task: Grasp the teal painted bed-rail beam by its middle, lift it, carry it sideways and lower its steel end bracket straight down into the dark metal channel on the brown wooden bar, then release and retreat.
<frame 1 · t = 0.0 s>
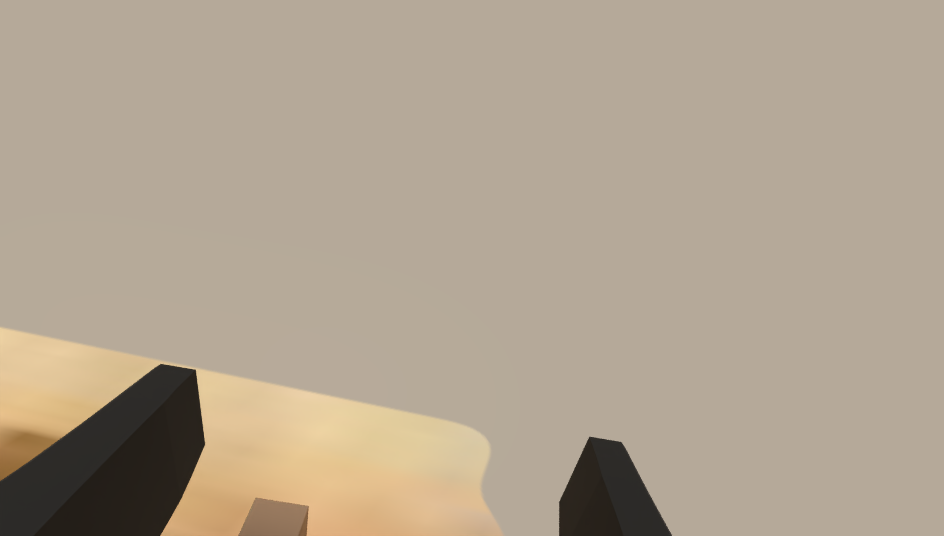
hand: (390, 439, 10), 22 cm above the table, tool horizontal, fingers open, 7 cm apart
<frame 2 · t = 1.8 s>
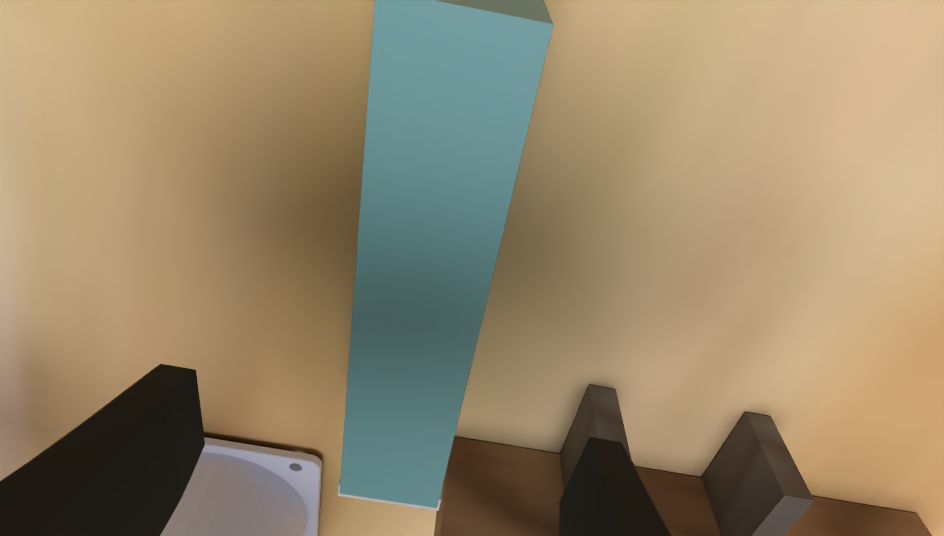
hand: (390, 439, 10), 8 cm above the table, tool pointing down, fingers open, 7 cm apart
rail: (437, 223, 17), on the table
brown wooden bar: (678, 493, 24), on the table
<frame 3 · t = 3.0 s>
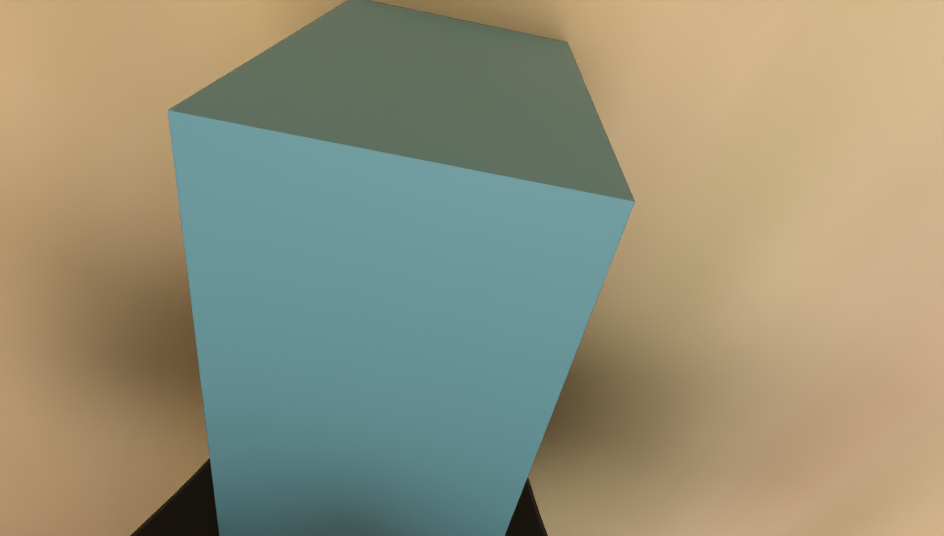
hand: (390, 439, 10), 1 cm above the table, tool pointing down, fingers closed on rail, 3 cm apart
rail: (403, 376, 12), on the table, touching gripper
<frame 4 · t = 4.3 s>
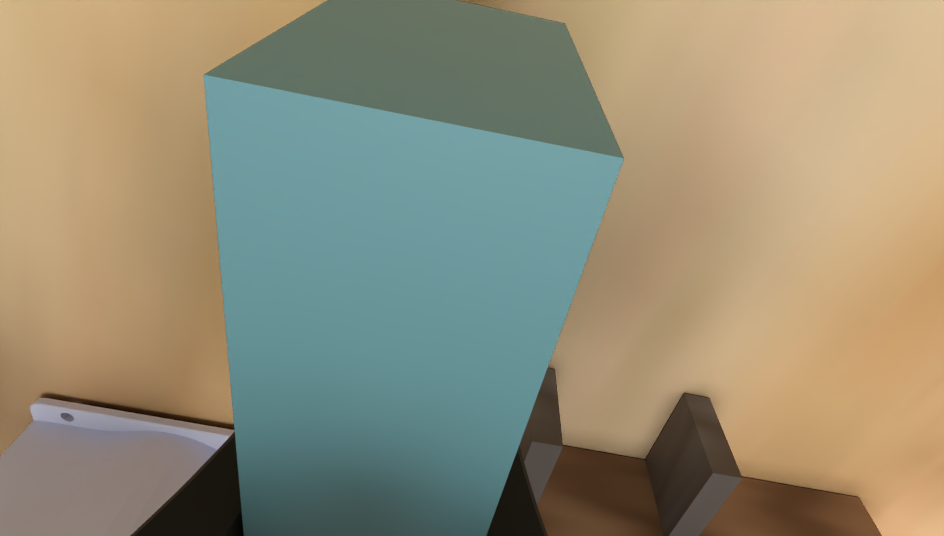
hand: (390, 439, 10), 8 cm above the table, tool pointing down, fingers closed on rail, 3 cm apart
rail: (407, 351, 12), point 6 cm above the table, touching gripper
brown wooden bar: (623, 476, 24), on the table
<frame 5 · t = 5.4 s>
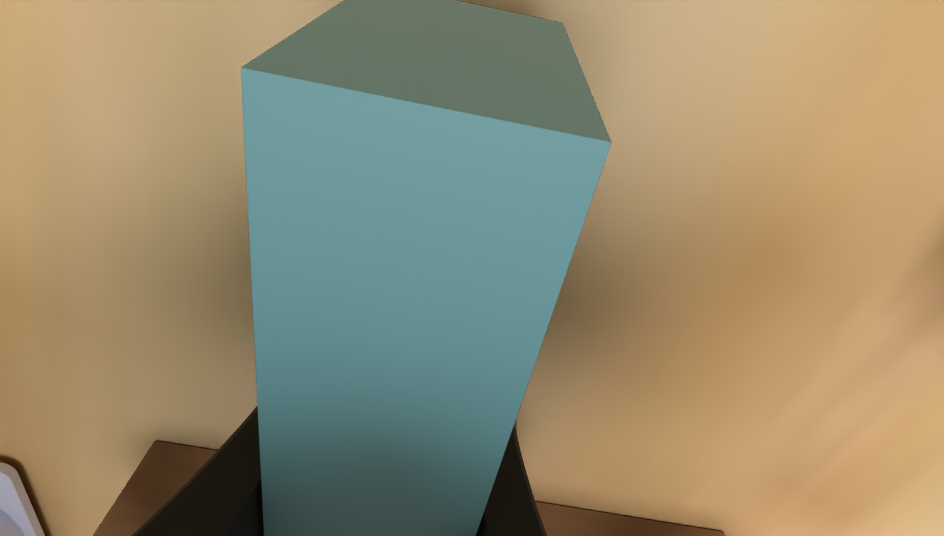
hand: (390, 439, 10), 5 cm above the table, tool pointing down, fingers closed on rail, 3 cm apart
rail: (412, 337, 12), point 2 cm above the table, touching gripper
brown wooden bar: (442, 508, 20), on the table
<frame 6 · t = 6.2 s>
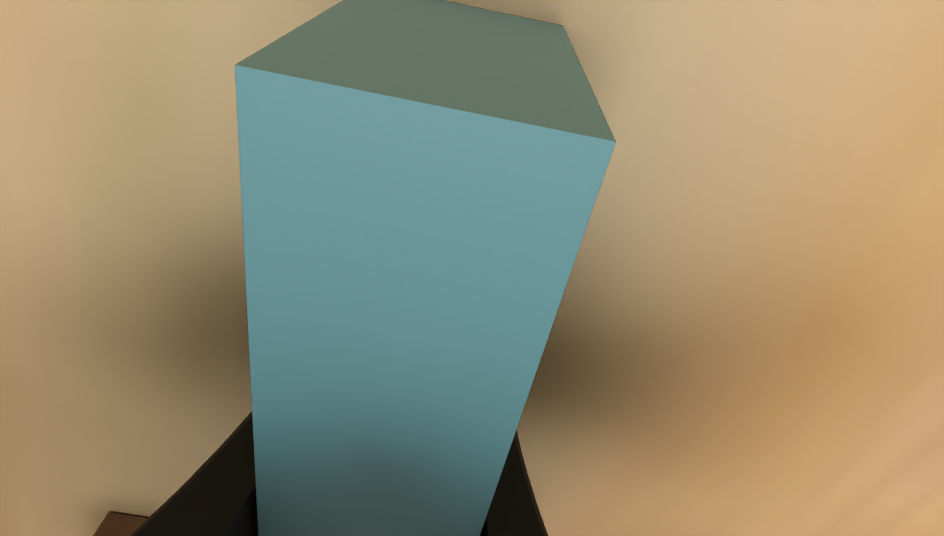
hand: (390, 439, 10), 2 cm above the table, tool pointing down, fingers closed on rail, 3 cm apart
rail: (411, 344, 12), on the table, touching gripper
when the fingers open (2 cm above the table, at t = 6.2 s): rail stays where it is, on the table.
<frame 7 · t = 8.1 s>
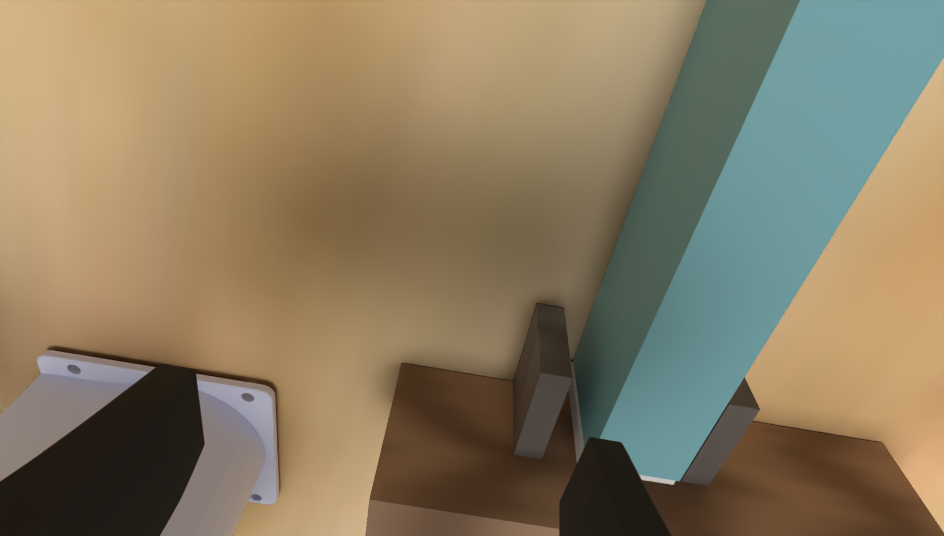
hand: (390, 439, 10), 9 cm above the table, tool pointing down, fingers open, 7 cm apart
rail: (677, 205, 18), on the table
brown wooden bar: (636, 424, 23), on the table
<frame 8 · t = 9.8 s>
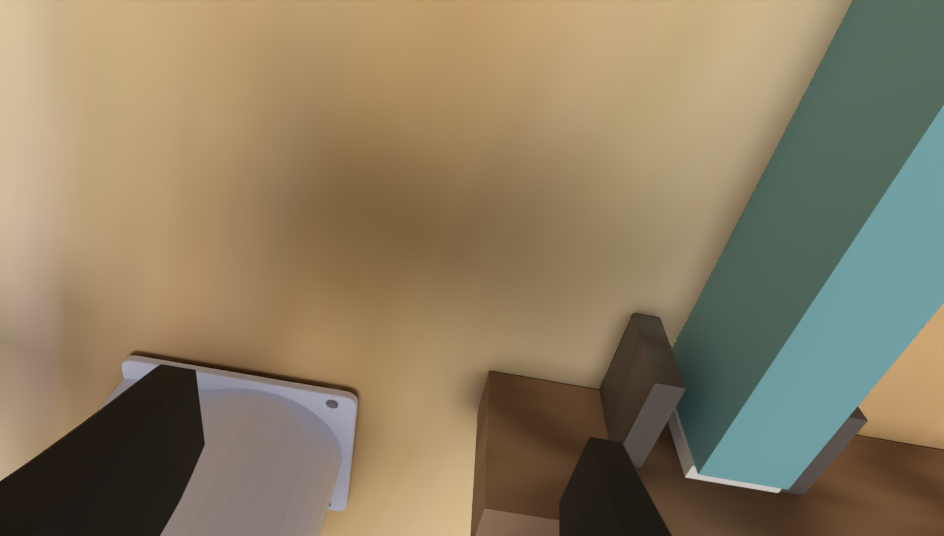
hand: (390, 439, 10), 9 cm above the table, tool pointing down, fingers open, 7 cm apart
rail: (786, 216, 18), on the table
brown wooden bar: (717, 433, 23), on the table
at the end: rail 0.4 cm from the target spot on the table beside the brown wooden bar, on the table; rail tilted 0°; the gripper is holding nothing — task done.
